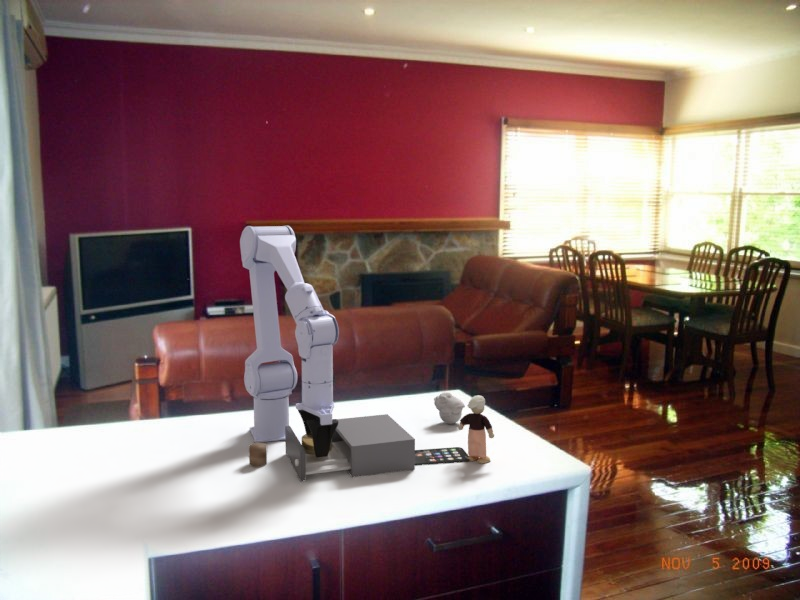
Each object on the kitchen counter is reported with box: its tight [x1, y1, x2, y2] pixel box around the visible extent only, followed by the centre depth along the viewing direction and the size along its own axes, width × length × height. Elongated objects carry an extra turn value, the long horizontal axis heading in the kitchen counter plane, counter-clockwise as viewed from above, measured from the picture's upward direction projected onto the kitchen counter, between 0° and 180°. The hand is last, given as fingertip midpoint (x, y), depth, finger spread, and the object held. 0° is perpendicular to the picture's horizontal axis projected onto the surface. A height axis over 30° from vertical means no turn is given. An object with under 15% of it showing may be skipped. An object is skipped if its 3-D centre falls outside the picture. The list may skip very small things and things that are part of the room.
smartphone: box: [415, 446, 471, 466], centre depth 134 cm, size 7×1×15 cm
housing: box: [332, 413, 416, 478], centre depth 133 cm, size 16×12×6 cm
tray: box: [284, 425, 351, 482], centre depth 130 cm, size 15×12×5 cm
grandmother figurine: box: [457, 394, 495, 464], centre depth 132 cm, size 8×4×13 cm, turn 65°
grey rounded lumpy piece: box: [433, 391, 466, 425], centre depth 154 cm, size 6×7×7 cm
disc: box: [301, 433, 332, 455], centre depth 129 cm, size 6×6×2 cm
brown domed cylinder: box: [248, 442, 268, 468], centre depth 130 cm, size 3×3×4 cm
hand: (318, 450), depth 129 cm, fingers closed on disc, 6 cm apart
